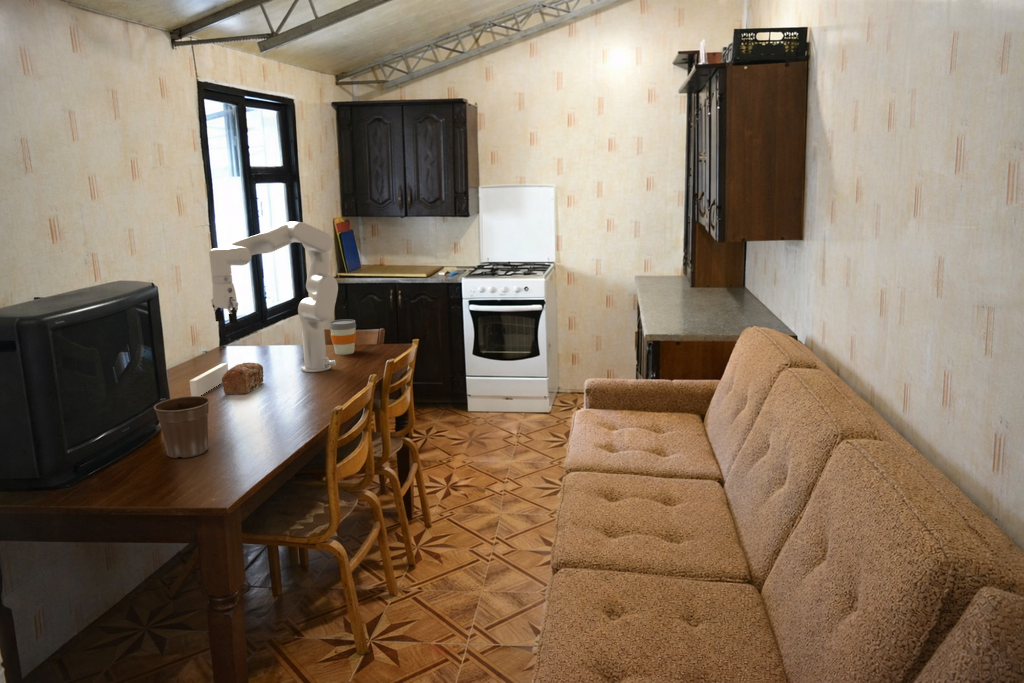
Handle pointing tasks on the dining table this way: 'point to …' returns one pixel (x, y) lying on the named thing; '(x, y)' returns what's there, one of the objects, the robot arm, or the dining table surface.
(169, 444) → the plant pot
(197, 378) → the board
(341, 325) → the reusable coffee cup
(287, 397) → the dining table surface
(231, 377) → the bread
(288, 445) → the dining table surface
